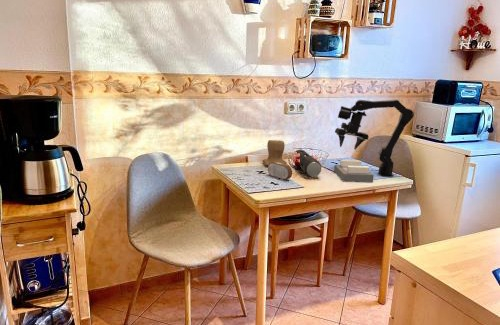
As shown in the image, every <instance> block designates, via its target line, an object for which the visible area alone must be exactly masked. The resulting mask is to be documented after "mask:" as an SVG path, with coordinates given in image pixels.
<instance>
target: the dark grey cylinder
mask: <svg viewBox="0 0 500 325" xmlns="http://www.w3.org/2000/svg"><path fill="white" fill-rule="evenodd" d="M294 152H297V153H300V157H299V158H300V163H299V164H300V167H301V168H300V167H299V168H300V169H301V170H302V171H303V173H304V174H305V175H306V176H307V177H311V178H316V177H318V176H319V175H320V174H321V172H322V164H321V162H320V161H319V160H318V159H316V158H314V157H313V156H311V155H310V153H308V152H306V151H305V150H303V149H297V150H296V151H294Z"/></svg>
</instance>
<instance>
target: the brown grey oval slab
mask: <svg viewBox="0 0 500 325" xmlns="http://www.w3.org/2000/svg"><path fill="white" fill-rule="evenodd" d="M267 172H268V174H269V175H270V176H271V177H273V178H276V179H279V178H280V180H282V179H283V181H285V180H289V179H291V177H292V176H293V169H292V168H291V166H290V165H289V164H287V163H286V164H284V163H281V162H277V161H273V162H271V163H269V164H268V165H267Z"/></svg>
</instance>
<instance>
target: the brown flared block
mask: <svg viewBox="0 0 500 325" xmlns="http://www.w3.org/2000/svg"><path fill="white" fill-rule="evenodd" d="M284 150H285V142H284V140H278V139H277V140H276V139H275V140H273V139H268V141H267V153H268V154H267V155H268V157H267V158H265V159H263V160H262V163H263V165H264V166H268V164H269V163H271V162H273V161H277V162H281V163H284V164H287V161H286V160H285V159H283V153H284Z"/></svg>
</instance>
